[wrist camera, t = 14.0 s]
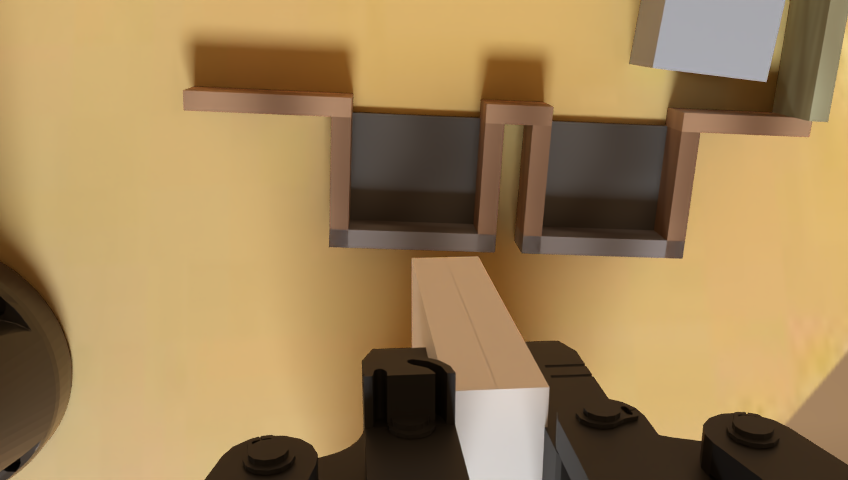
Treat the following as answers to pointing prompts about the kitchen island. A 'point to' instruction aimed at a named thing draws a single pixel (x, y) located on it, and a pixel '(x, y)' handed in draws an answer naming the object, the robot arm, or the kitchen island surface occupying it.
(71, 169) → the kitchen island surface
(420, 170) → the trap lane
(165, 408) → the kitchen island surface
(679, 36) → the gray block
